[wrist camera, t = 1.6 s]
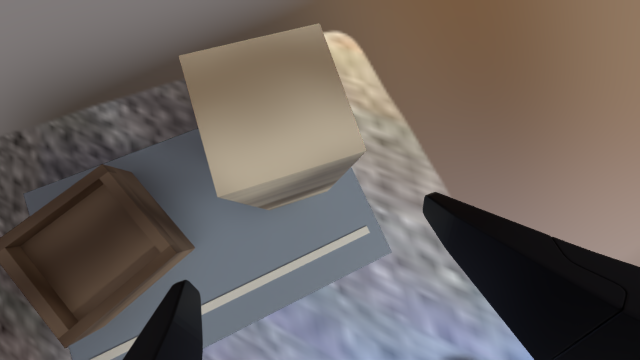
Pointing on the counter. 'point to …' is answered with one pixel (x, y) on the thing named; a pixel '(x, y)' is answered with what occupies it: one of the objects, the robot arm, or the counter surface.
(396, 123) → the counter surface
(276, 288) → the board
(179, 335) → the robot arm
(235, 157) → the beech column
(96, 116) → the counter surface
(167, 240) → the walnut block
